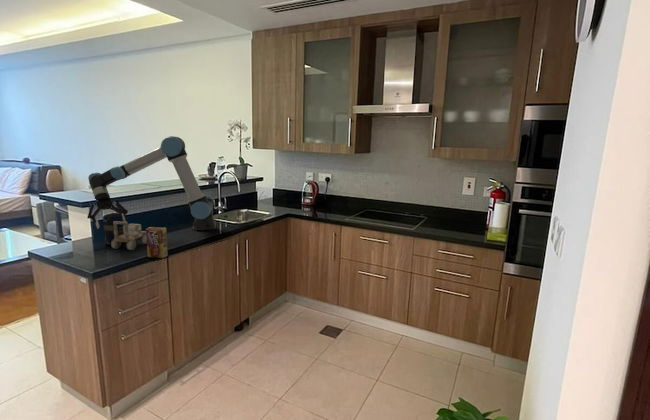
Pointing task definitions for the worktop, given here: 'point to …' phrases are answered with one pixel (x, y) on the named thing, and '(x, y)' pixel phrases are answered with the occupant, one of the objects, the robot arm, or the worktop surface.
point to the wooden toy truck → (128, 235)
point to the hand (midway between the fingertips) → (112, 225)
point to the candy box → (156, 242)
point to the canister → (109, 226)
